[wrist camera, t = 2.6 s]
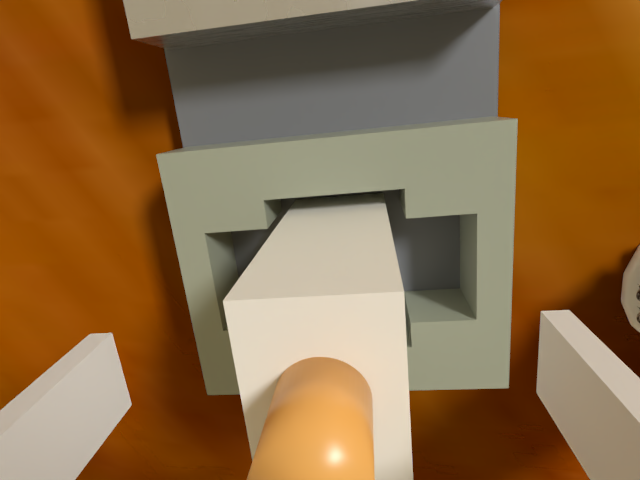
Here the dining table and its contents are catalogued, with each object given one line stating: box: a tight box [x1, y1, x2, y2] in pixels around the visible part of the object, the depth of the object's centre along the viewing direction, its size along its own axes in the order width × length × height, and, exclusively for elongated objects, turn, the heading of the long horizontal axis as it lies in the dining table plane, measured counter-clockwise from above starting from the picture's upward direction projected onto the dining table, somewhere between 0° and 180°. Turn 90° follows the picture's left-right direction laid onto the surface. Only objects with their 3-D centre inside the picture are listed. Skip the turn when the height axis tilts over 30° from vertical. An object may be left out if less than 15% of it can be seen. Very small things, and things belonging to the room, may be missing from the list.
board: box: [164, 3, 500, 291], centre depth 21 cm, size 30×16×2 cm, turn 6°
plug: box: [223, 193, 413, 480], centre depth 16 cm, size 6×4×15 cm
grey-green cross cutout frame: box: [156, 116, 518, 395], centre depth 21 cm, size 12×15×4 cm
